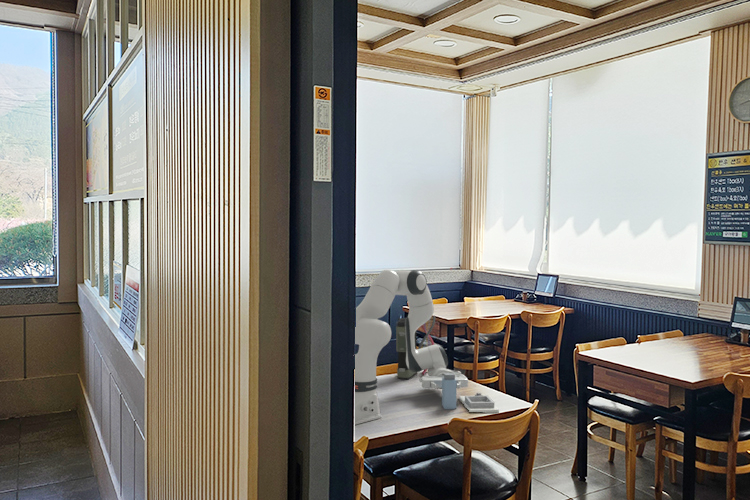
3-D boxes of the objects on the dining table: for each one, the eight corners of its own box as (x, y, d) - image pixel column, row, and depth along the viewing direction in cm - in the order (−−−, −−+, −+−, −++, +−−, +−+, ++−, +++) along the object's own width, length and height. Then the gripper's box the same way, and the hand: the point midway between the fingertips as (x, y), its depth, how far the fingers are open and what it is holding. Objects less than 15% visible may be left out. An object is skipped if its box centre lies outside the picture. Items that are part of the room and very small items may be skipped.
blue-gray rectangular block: (456, 408, 238) (456, 375, 237) (444, 409, 237) (444, 375, 237) (453, 405, 243) (453, 372, 242) (442, 405, 242) (442, 372, 242)
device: (408, 380, 282) (408, 320, 281) (394, 378, 285) (394, 319, 284) (418, 373, 295) (418, 316, 294) (404, 372, 298) (404, 315, 297)
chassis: (498, 412, 233) (498, 404, 233) (469, 413, 232) (469, 405, 232) (485, 398, 253) (485, 390, 253) (458, 398, 252) (458, 391, 252)
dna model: (414, 373, 295) (415, 316, 294) (423, 370, 302) (423, 313, 301) (430, 376, 290) (430, 317, 289) (438, 372, 297) (438, 315, 296)
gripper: (418, 371, 255) (423, 379, 241) (463, 371, 256) (471, 379, 243) (418, 385, 255) (423, 394, 241) (463, 385, 257) (471, 393, 243)
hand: (447, 386), depth 242 cm, fingers open, 8 cm apart
